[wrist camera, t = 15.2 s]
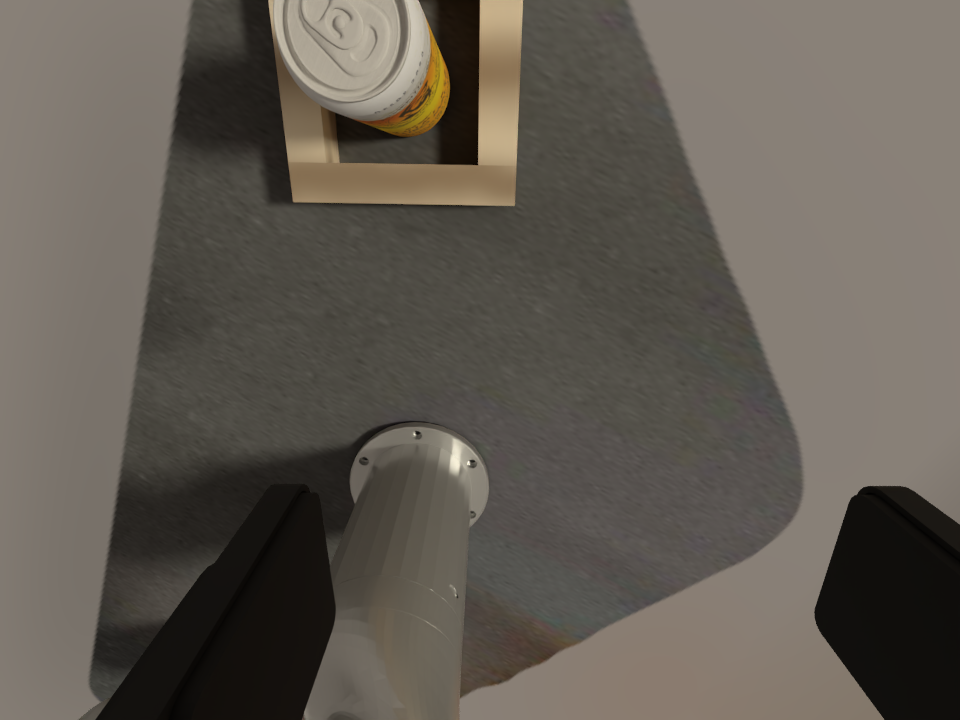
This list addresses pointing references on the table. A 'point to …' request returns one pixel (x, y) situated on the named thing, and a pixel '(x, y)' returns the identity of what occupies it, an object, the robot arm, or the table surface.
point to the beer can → (365, 60)
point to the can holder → (415, 183)
